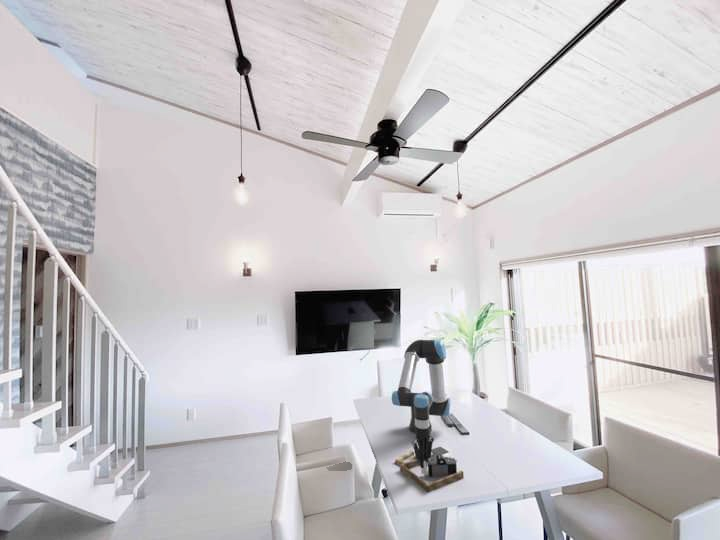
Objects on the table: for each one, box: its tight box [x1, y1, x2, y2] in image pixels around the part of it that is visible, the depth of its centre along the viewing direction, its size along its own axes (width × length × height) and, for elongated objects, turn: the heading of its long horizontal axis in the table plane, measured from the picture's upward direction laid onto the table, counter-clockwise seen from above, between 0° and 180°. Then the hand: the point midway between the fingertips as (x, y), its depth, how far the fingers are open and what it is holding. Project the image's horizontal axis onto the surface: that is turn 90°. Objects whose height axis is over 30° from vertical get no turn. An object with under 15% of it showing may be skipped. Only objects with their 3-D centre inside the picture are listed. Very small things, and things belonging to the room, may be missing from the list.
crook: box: [394, 450, 415, 466], centre depth 186 cm, size 14×7×2 cm, turn 130°
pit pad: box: [431, 446, 449, 456], centre depth 195 cm, size 8×7×1 cm
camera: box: [427, 454, 458, 478], centre depth 173 cm, size 16×9×10 cm, turn 89°
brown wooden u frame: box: [399, 452, 464, 493], centre depth 172 cm, size 23×22×3 cm
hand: (424, 473), depth 170 cm, fingers closed
